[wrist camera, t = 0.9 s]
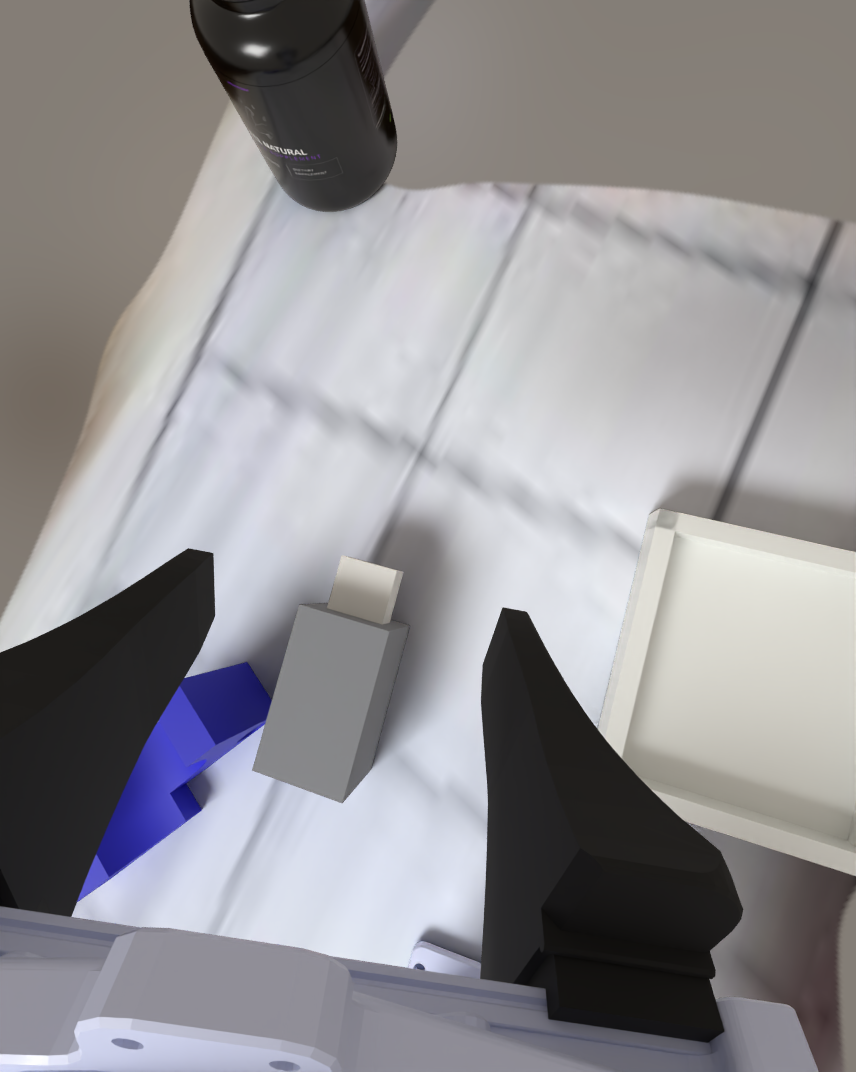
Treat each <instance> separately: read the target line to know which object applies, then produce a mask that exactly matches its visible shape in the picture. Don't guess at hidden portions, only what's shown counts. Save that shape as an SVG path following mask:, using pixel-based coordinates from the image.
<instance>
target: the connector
mask: <svg viewBox="0 0 856 1072" xmlns="http://www.w3.org/2000/svg"><path fill="white" fill-rule="evenodd" d="M402 576H403V572H402V571H398V570H395V569H391V568H388V567H384V566H380V565H377V564H373V563H370V562H366V561H362V560H359V559H355V558H351V557H347V556H341V560H340V563H339V567H338V570H337V574H336V577H335V581H334V585H333V588H332V592H331V595H330V599H329V602H328V603H318V604H299V607H298V610H297V614H296V617H295V621H294V624H293V628H292V632H291V635H290V639H289V642H288V646H287V649H286V653H285V656H284V660H283V663H282V667H281V670H280V674H279V677H278V681H277V684H276V688H275V691H274V695H273V699H272V702H271V706H270V709H269V713H268V716H267V720H266V723H265V727H264V730H263V734H262V737H261V741H260V744H259V748H258V751H257V755H256V759H255V762H254V766H253V769H252V771H255V772H258V773H261V774H263V775H266V776H269V777H272V778H274V779H277V780H280V781H283V782H285V783H288V784H291V785H294V786H296V787H299V788H302V789H305V790H307V791H310V792H313V793H315V794H318V795H321V796H324V797H326V798H329V799H332V800H335V801H337V802H340V803H343V802H344V801H345V800H346V798H347V797H348V796H349V795H350V794H351V793H352V791H353V790H354V789H355V788H356V787H357V785H358V784H359V783H360V782H361V781H362V780H363V778H364V777H365V776H366V775H367V774H368V773H369V771H370V770H371V768H372V764H373V760H374V757H375V753H376V749H377V745H378V742H379V738H380V734H381V731H382V727H383V723H384V720H385V716H386V712H387V709H388V705H389V701H390V698H391V694H392V690H393V687H394V683H395V679H396V676H397V672H398V668H399V664H400V661H401V657H402V653H403V650H404V646H405V642H406V639H407V635H408V631H409V628H410V625H407V624H404V623H400V622H397V621H394V620H391V616H392V613H393V609H394V605H395V602H396V598H397V594H398V591H399V587H400V583H401V580H402Z"/></svg>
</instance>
